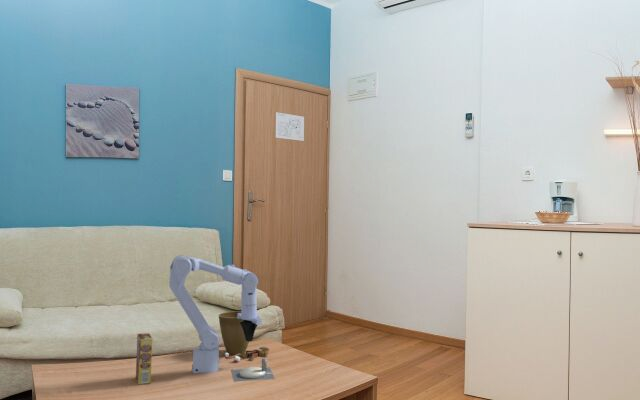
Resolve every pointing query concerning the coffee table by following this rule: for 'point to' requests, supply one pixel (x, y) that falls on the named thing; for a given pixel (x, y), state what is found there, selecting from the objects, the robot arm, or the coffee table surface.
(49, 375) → the coffee table surface
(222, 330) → the plant pot
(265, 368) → the dial
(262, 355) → the character figurine
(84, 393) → the coffee table surface
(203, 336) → the robot arm
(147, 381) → the candy box
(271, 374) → the stand plate
